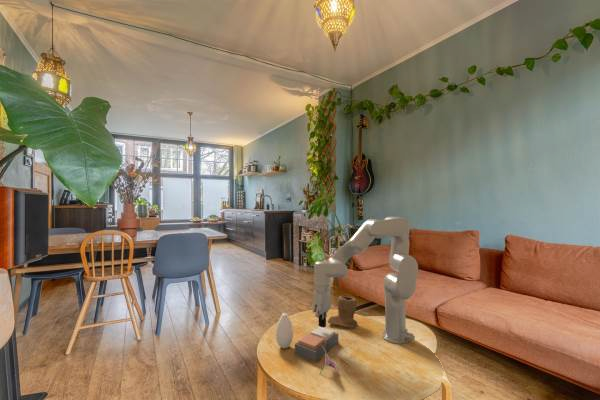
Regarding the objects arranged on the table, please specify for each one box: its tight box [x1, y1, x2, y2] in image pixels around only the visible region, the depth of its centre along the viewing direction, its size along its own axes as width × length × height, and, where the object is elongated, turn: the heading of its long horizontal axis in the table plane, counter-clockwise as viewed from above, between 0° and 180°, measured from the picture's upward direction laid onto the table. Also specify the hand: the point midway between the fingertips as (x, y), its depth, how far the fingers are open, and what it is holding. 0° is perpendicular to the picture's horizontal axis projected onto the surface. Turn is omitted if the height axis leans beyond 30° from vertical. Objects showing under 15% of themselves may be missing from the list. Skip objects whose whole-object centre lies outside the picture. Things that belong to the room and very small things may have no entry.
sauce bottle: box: [275, 308, 294, 349], centre depth 128 cm, size 8×8×18 cm
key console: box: [294, 332, 339, 364], centre depth 127 cm, size 11×20×4 cm, turn 144°
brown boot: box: [327, 295, 358, 329], centre depth 152 cm, size 15×12×15 cm
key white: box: [310, 325, 336, 341], centre depth 131 cm, size 8×8×2 cm
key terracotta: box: [298, 333, 324, 350], centre depth 123 cm, size 8×8×2 cm
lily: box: [319, 346, 340, 375], centre depth 109 cm, size 12×12×10 cm
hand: (322, 326), depth 131 cm, fingers closed
